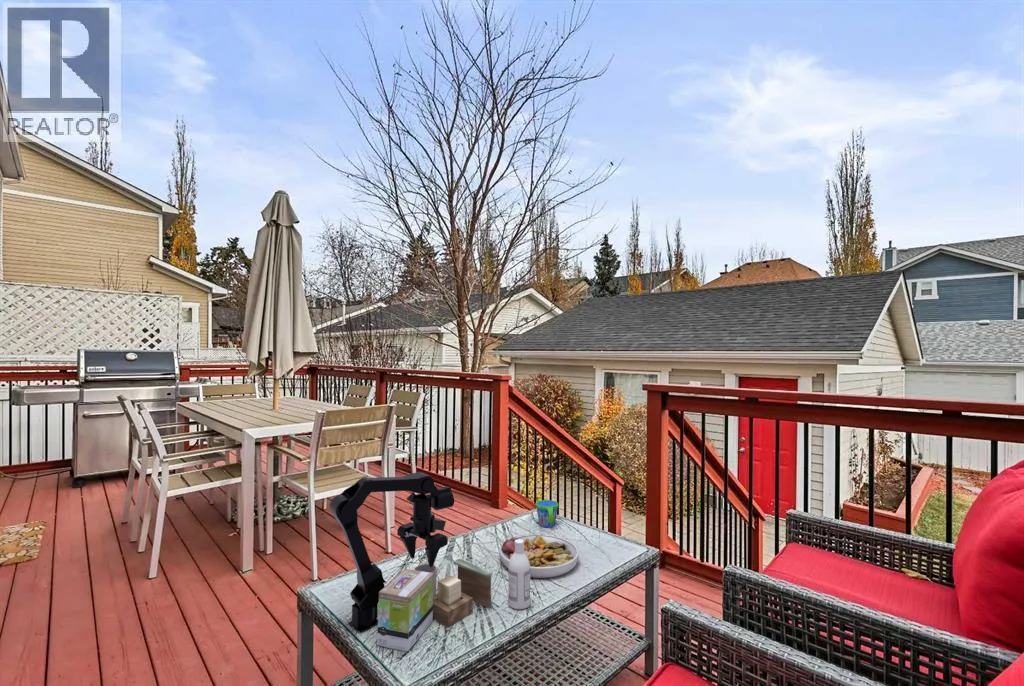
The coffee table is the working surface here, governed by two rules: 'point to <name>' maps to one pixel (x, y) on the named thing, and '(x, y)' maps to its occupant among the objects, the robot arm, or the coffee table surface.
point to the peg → (449, 590)
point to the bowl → (543, 554)
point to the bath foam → (519, 578)
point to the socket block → (465, 594)
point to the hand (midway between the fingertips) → (421, 562)
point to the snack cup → (547, 512)
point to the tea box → (405, 609)
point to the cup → (432, 570)
